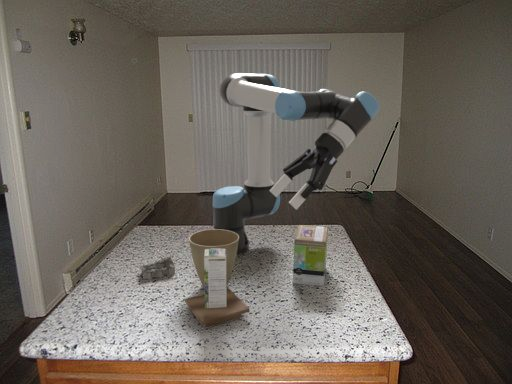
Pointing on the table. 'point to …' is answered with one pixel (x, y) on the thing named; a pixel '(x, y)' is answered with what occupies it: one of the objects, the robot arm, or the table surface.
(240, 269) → the table surface
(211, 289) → the syrup box
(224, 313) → the stand
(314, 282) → the tea box
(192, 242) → the plant pot
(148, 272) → the egg carton
